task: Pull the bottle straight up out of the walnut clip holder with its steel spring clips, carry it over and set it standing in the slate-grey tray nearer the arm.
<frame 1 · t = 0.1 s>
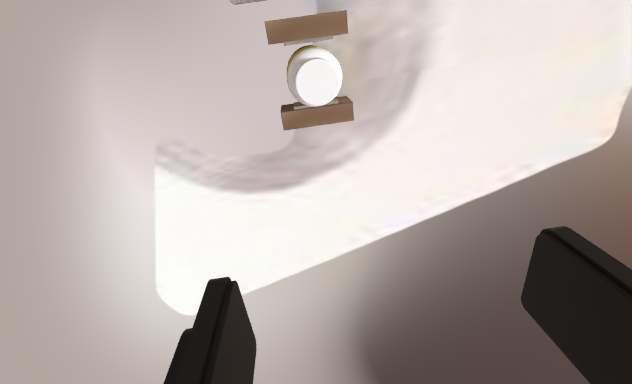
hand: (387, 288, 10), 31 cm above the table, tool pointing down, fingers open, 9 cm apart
supplement bottle: (310, 70, 36), on the table
clip holder: (310, 71, 35), on the table
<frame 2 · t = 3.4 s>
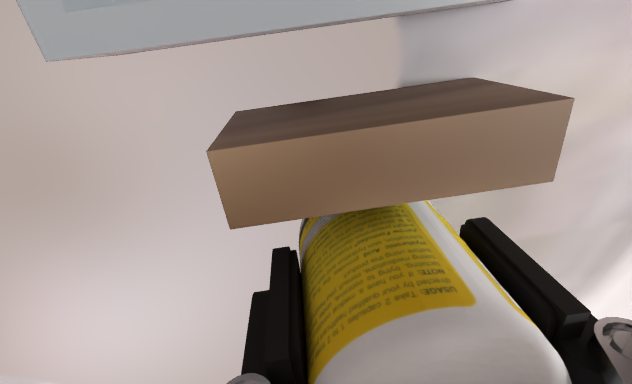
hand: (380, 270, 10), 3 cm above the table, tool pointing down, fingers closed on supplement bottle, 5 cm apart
supplement bottle: (362, 226, 13), on the table, touching gripper
clip holder: (364, 229, 13), on the table
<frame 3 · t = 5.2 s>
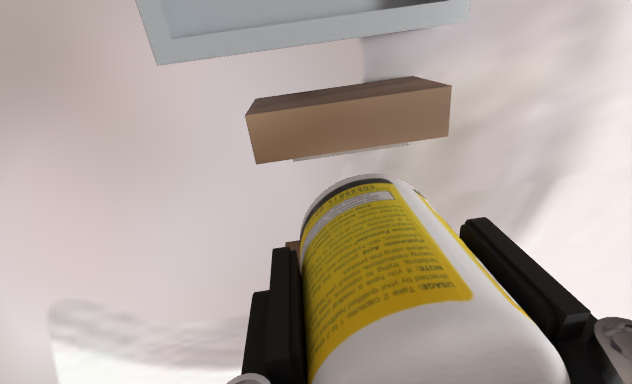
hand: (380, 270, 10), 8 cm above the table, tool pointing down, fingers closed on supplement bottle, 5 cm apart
supplement bottle: (363, 228, 13), point 5 cm above the table, touching gripper
clip holder: (343, 184, 18), on the table
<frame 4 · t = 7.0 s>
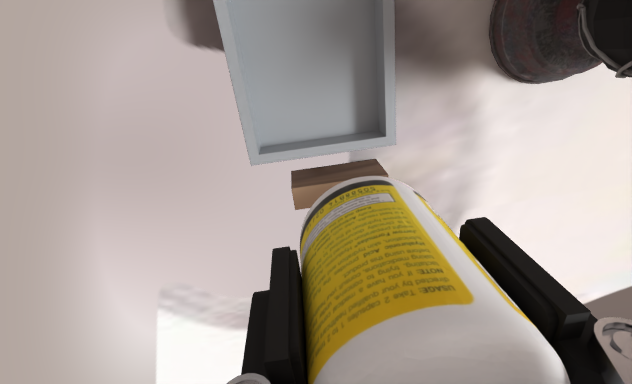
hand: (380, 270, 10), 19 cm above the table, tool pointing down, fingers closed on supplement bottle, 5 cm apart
supplement bottle: (363, 230, 13), point 16 cm above the table, touching gripper
lantern: (552, 14, 25), on the table
clip holder: (338, 214, 31), on the table
tray: (310, 61, 25), on the table
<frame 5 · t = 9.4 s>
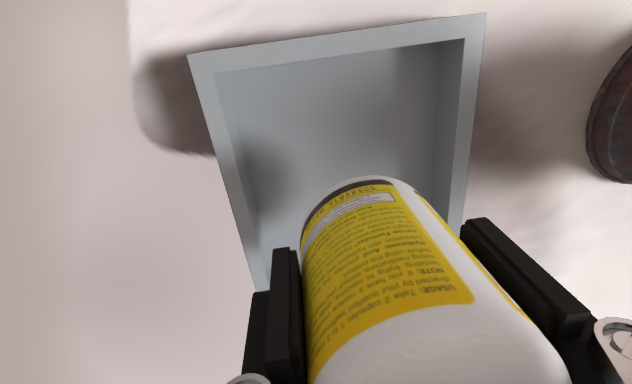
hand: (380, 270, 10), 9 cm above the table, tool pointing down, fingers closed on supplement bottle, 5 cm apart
supplement bottle: (363, 229, 13), point 6 cm above the table, touching gripper
tray: (341, 166, 18), on the table
when the fingers open (5 cm above the table, at t = 10.9 s): supplement bottle drops 2 cm, resting on tray.
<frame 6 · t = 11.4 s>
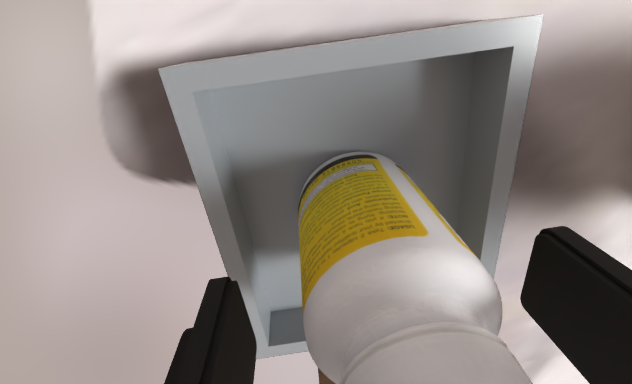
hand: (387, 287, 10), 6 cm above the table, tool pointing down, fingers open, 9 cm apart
supplement bottle: (353, 201, 15), point 1 cm above the table, touching tray
tray: (351, 196, 15), on the table
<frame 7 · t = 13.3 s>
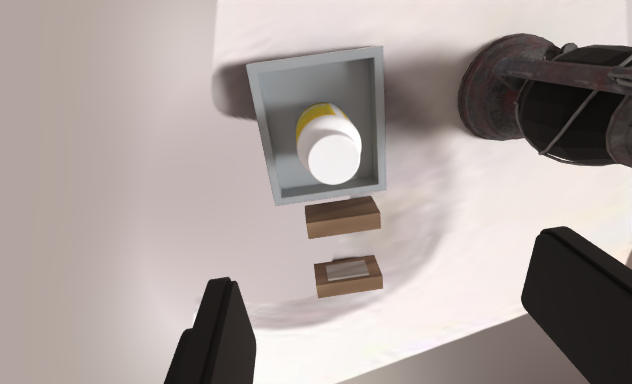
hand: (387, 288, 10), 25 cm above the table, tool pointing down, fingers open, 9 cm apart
supplement bottle: (321, 127, 31), point 1 cm above the table, touching tray
lantern: (506, 90, 32), on the table
clip holder: (341, 238, 38), on the table
tray: (320, 126, 32), on the table
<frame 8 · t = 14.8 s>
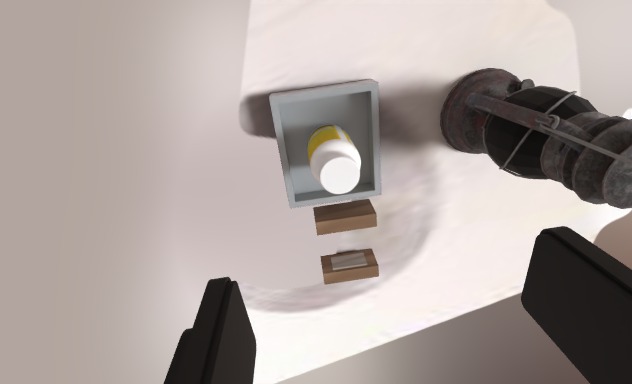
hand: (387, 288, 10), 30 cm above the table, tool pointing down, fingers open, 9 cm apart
supplement bottle: (328, 144, 38), point 1 cm above the table, touching tray
lantern: (480, 112, 39), on the table
clip holder: (344, 234, 45), on the table
tray: (327, 143, 39), on the table
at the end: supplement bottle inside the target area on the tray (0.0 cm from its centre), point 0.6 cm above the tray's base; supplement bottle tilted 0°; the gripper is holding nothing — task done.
